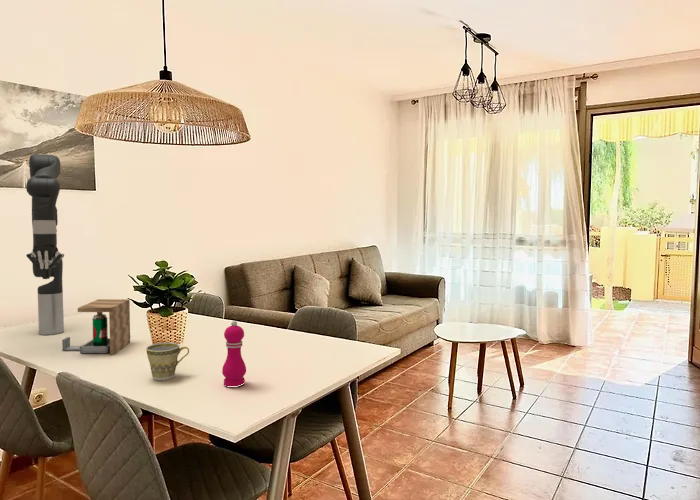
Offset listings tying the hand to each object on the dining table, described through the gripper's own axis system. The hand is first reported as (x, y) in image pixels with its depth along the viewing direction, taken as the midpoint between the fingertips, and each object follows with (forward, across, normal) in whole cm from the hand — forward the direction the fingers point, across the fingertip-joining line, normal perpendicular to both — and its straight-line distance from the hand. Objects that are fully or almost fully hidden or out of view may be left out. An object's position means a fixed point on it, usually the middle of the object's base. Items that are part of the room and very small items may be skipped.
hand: (46, 278), depth 189 cm
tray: (+27, +15, 0) cm, 31 cm away
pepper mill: (+27, +75, -41) cm, 90 cm away
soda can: (+26, +19, 0) cm, 32 cm away
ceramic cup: (+27, +53, -33) cm, 68 cm away
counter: (+27, +20, +1) cm, 34 cm away
